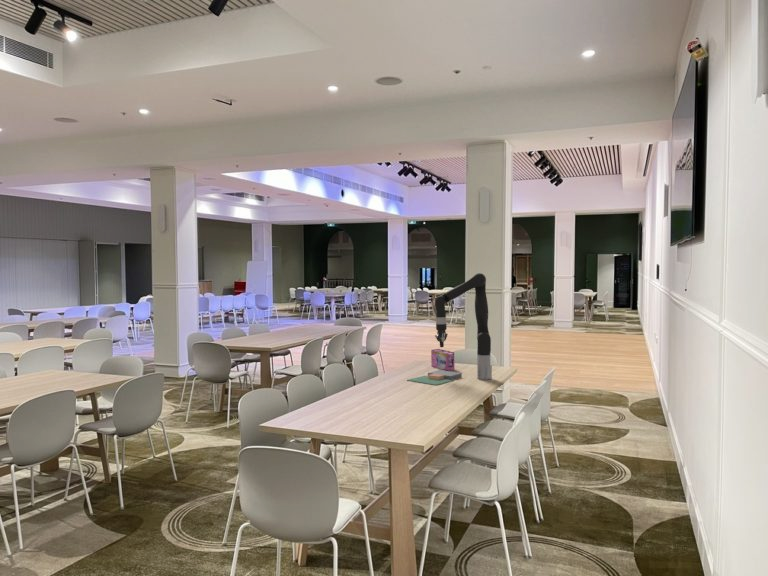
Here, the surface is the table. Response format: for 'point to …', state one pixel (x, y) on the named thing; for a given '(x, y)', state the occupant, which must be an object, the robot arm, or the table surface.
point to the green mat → (429, 380)
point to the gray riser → (447, 374)
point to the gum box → (442, 359)
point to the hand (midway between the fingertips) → (441, 347)
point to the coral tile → (436, 376)
